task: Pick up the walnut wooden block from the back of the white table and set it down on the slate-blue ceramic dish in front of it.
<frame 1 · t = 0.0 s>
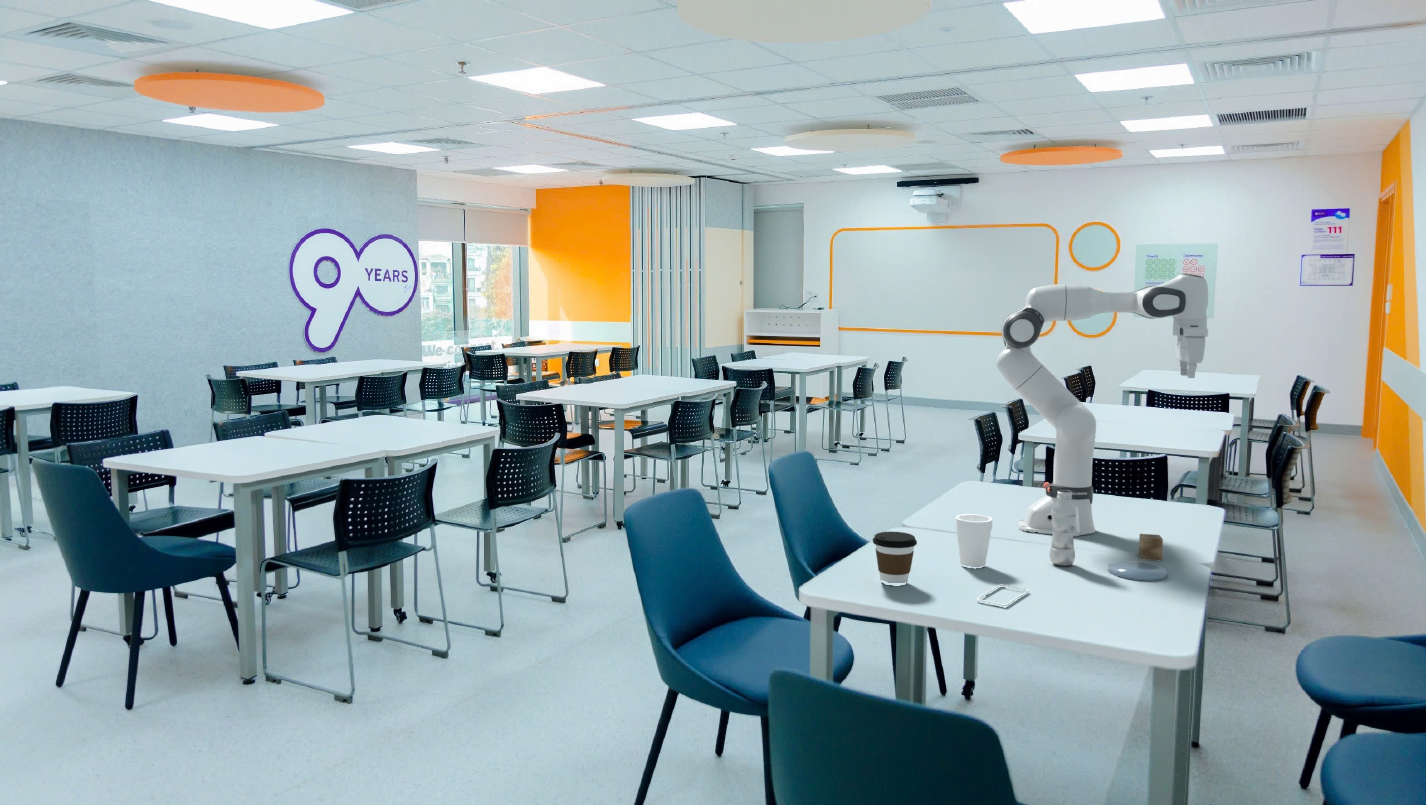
hand: (1187, 376, 273), 48 cm above the table, tool pointing down, fingers open, 8 cm apart
walnut block: (1150, 557, 255), on the table
plastic bottle: (1061, 565, 248), on the table
coffee cup: (893, 583, 233), on the table
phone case: (1002, 600, 221), on the table
foam cup: (972, 566, 248), on the table
dish: (1136, 572, 240), on the table
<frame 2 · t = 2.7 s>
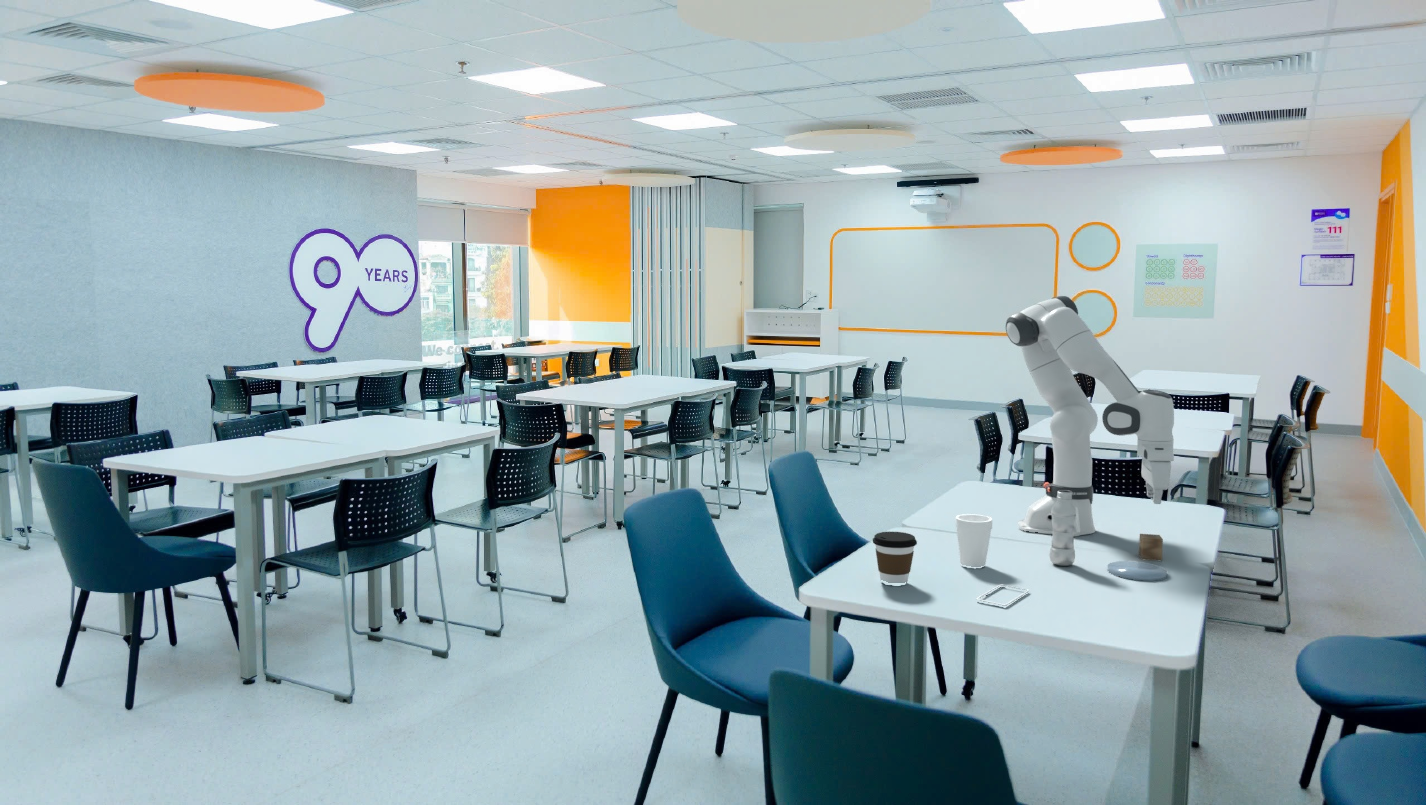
hand: (1153, 500, 253), 16 cm above the table, tool pointing down, fingers open, 8 cm apart
nothing on the table moved.
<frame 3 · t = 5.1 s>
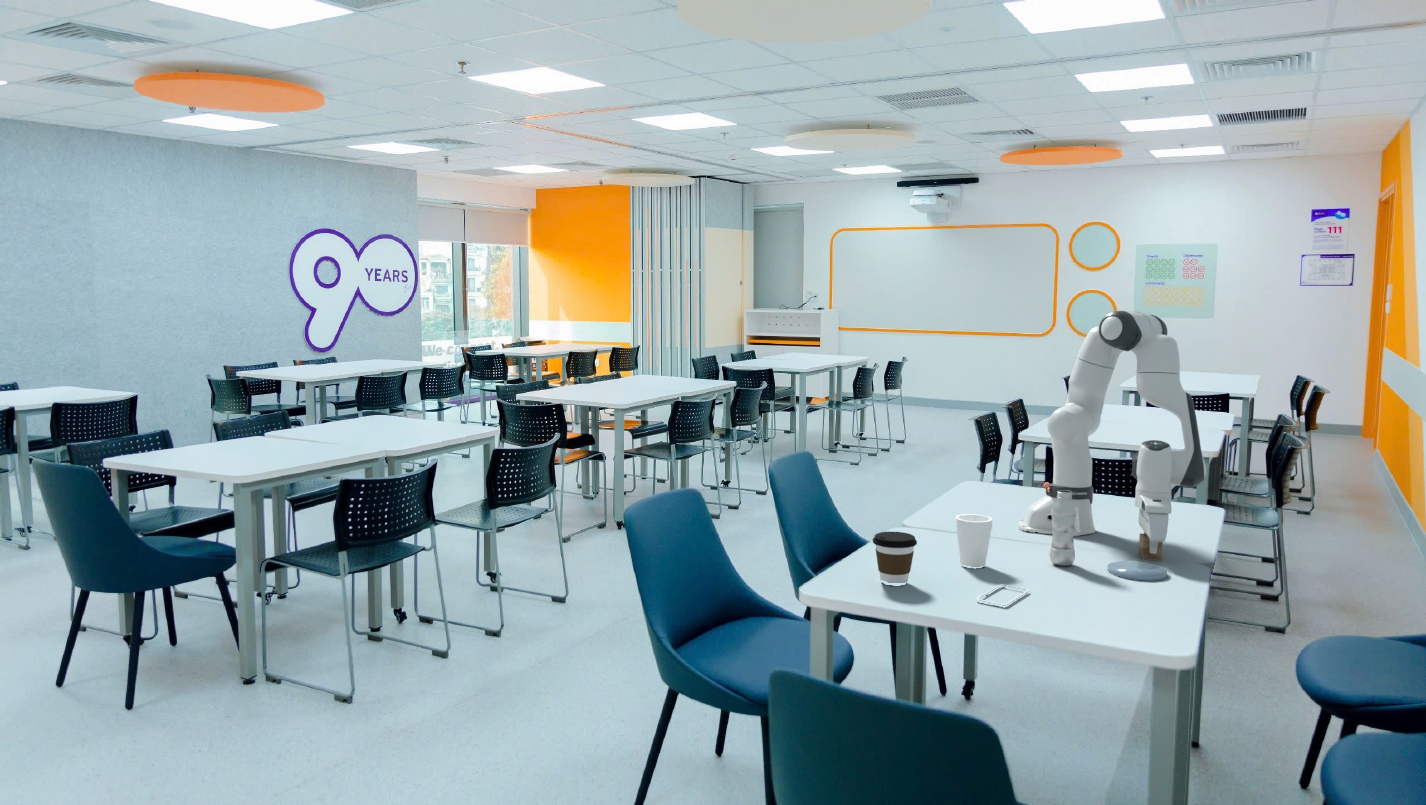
hand: (1150, 549, 255), 2 cm above the table, tool pointing down, fingers closed on walnut block, 5 cm apart
walnut block: (1150, 557, 255), on the table, touching gripper
everything else where it was.
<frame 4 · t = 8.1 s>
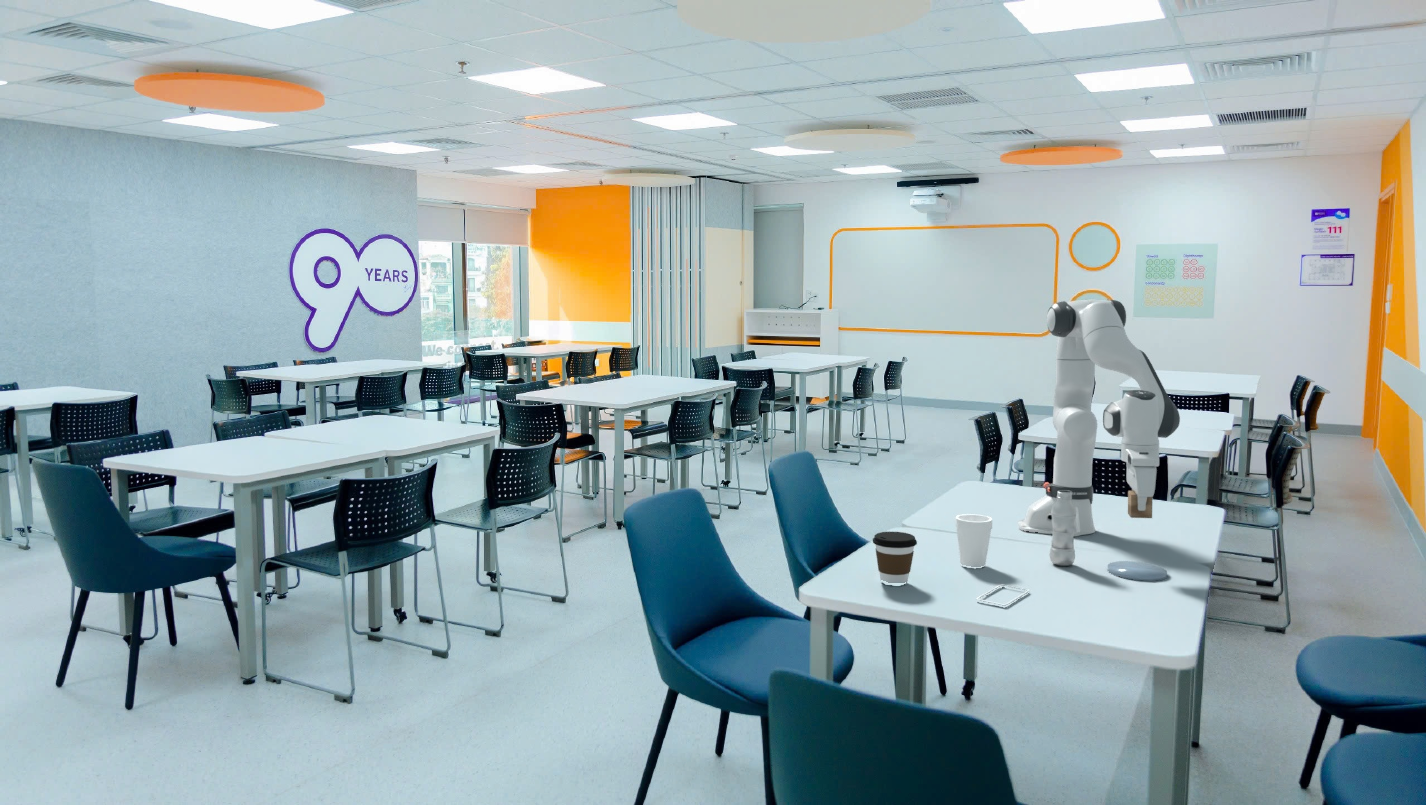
hand: (1139, 507, 239), 17 cm above the table, tool pointing down, fingers closed on walnut block, 5 cm apart
walnut block: (1139, 515, 239), point 15 cm above the table, touching gripper
everything else where it was.
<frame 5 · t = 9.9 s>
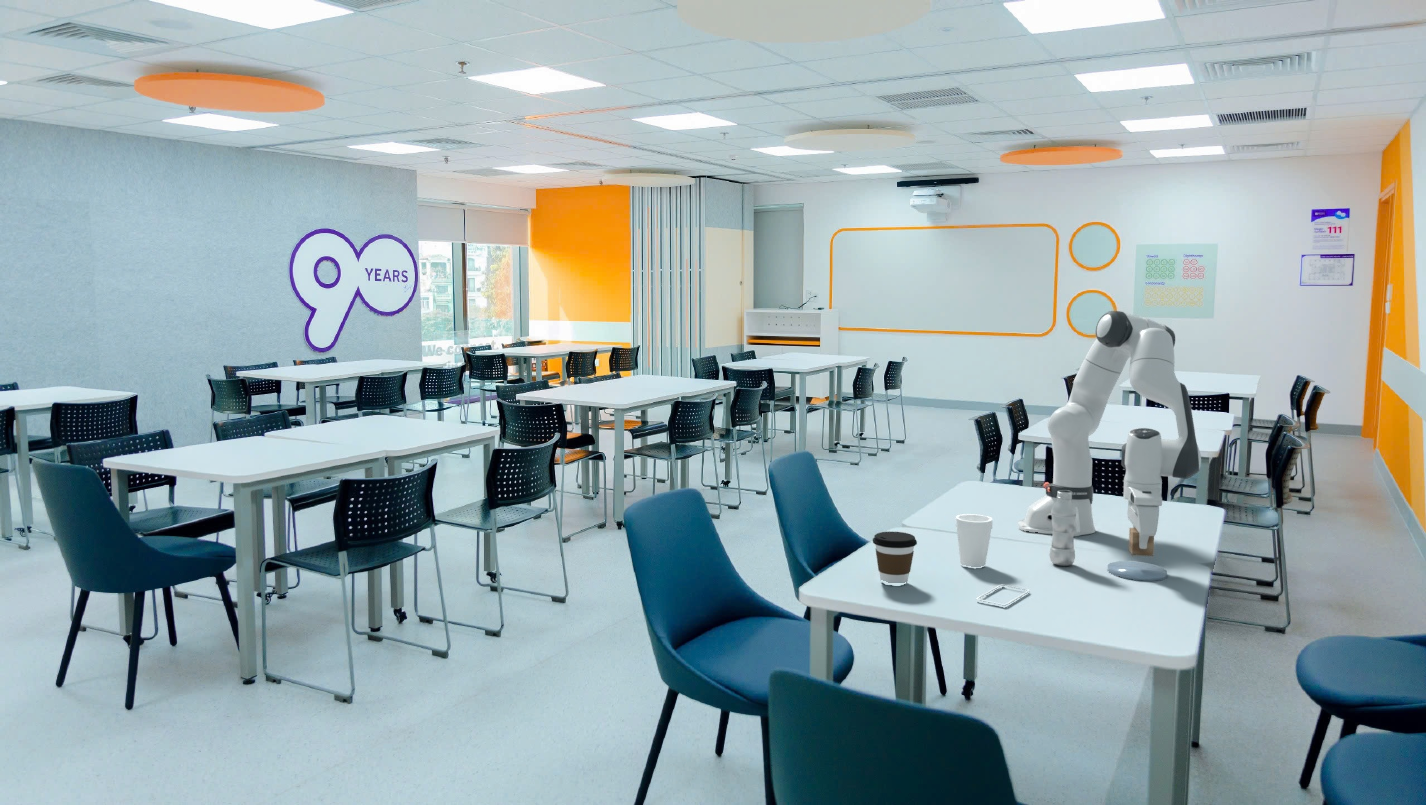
hand: (1140, 544, 240), 7 cm above the table, tool pointing down, fingers closed on walnut block, 5 cm apart
walnut block: (1140, 553, 240), point 5 cm above the table, touching gripper
everything else where it was.
when the fingers open (5 cm above the table, at t = 11.3 s): walnut block drops 1 cm, resting on dish.
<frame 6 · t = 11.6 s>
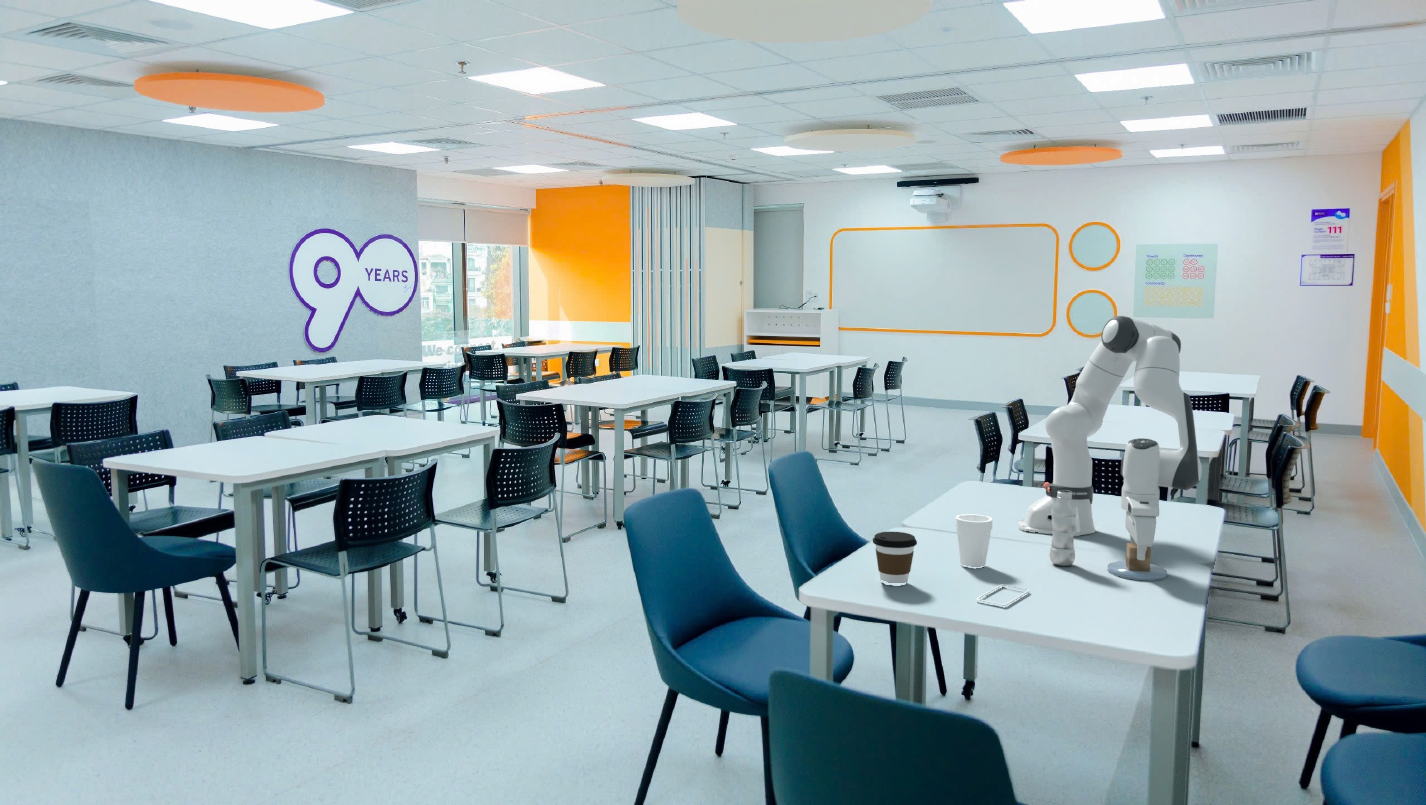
hand: (1137, 554, 240), 5 cm above the table, tool pointing down, fingers open, 8 cm apart
walnut block: (1137, 568, 240), point 1 cm above the table, touching dish
everything else where it was.
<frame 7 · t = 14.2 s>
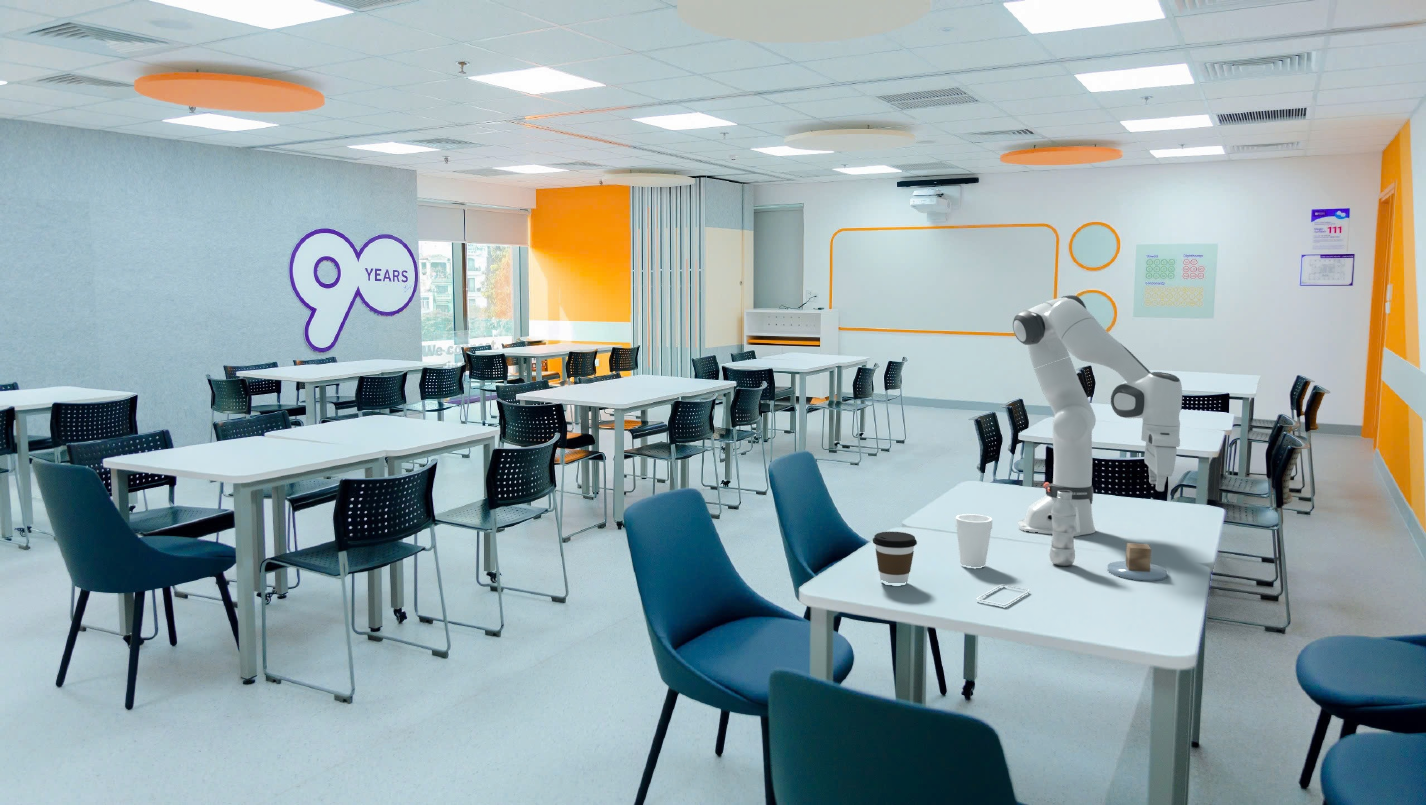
hand: (1156, 486, 244), 22 cm above the table, tool pointing down, fingers open, 8 cm apart
nothing on the table moved.
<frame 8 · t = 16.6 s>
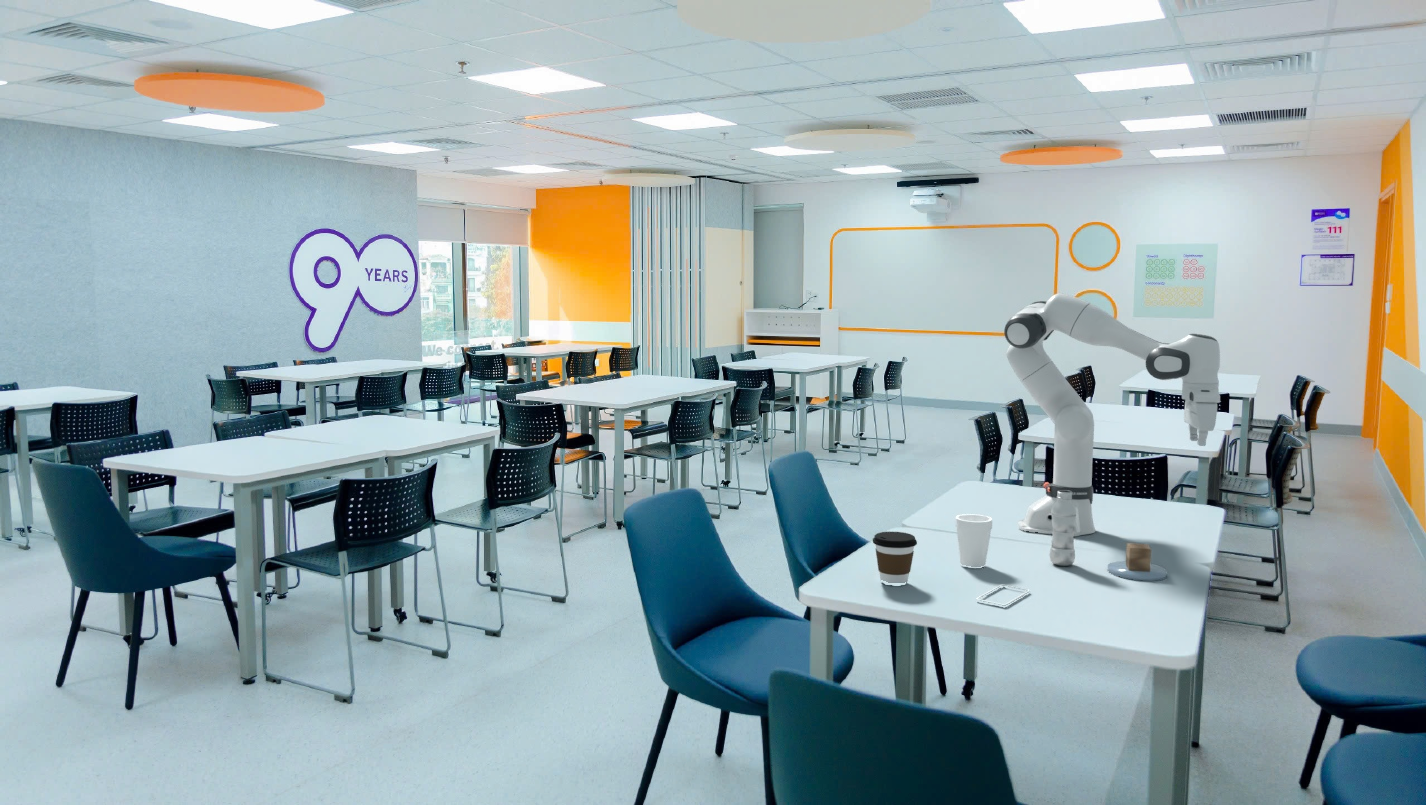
hand: (1197, 443, 256), 31 cm above the table, tool pointing down, fingers open, 8 cm apart
nothing on the table moved.
at the end: walnut block inside the target area on the dish (0.2 cm from its centre), point 1.2 cm above the dish's base; walnut block tilted 0°; the gripper is holding nothing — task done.
